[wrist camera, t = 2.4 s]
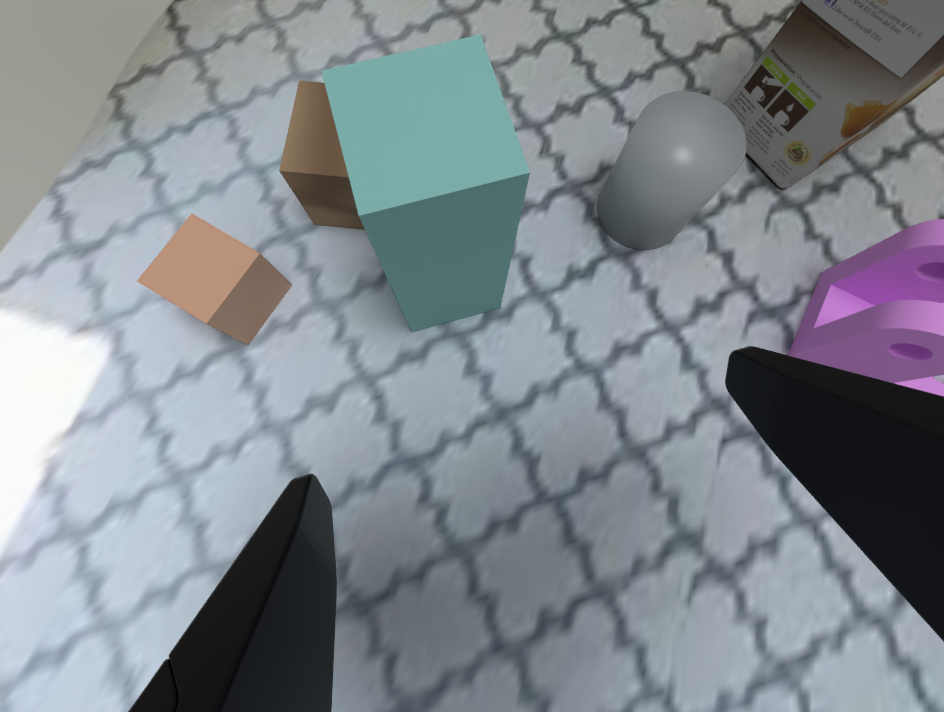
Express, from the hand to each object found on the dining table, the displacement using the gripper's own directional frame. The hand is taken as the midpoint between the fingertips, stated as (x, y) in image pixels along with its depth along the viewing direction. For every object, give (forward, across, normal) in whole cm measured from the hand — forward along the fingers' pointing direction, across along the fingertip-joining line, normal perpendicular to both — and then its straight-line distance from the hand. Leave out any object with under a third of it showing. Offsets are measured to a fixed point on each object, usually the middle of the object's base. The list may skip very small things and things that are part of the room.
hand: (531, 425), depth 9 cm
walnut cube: (+21, +3, -1) cm, 21 cm away
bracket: (+8, -23, +12) cm, 27 cm away
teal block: (+16, 0, +3) cm, 17 cm away
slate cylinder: (+17, -12, +3) cm, 21 cm away
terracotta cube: (+18, +11, +2) cm, 21 cm away
